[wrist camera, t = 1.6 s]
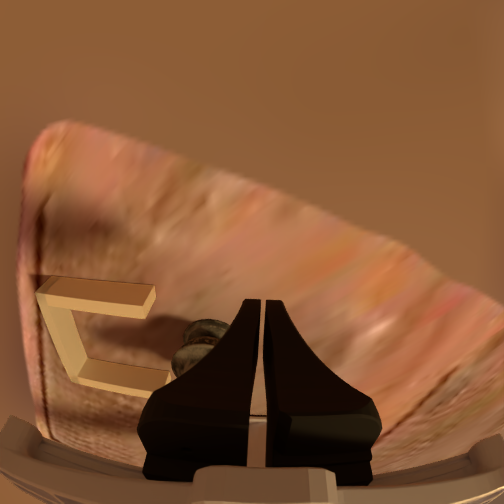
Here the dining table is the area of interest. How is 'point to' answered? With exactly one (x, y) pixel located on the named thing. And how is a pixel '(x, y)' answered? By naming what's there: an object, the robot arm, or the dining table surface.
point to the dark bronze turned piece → (197, 343)
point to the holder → (104, 302)
